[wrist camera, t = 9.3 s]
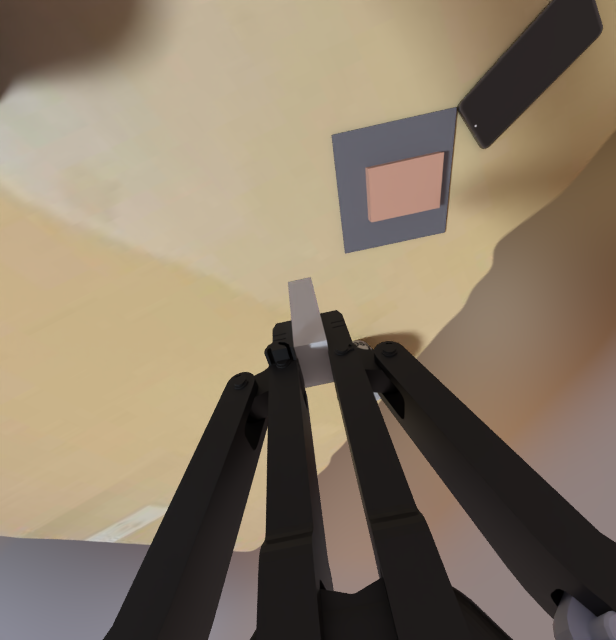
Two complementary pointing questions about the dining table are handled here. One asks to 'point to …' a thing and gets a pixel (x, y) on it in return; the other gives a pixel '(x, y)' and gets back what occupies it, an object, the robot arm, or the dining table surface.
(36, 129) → the dining table surface
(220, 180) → the dining table surface
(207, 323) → the dining table surface
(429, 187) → the slab
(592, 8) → the smartphone
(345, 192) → the mat
